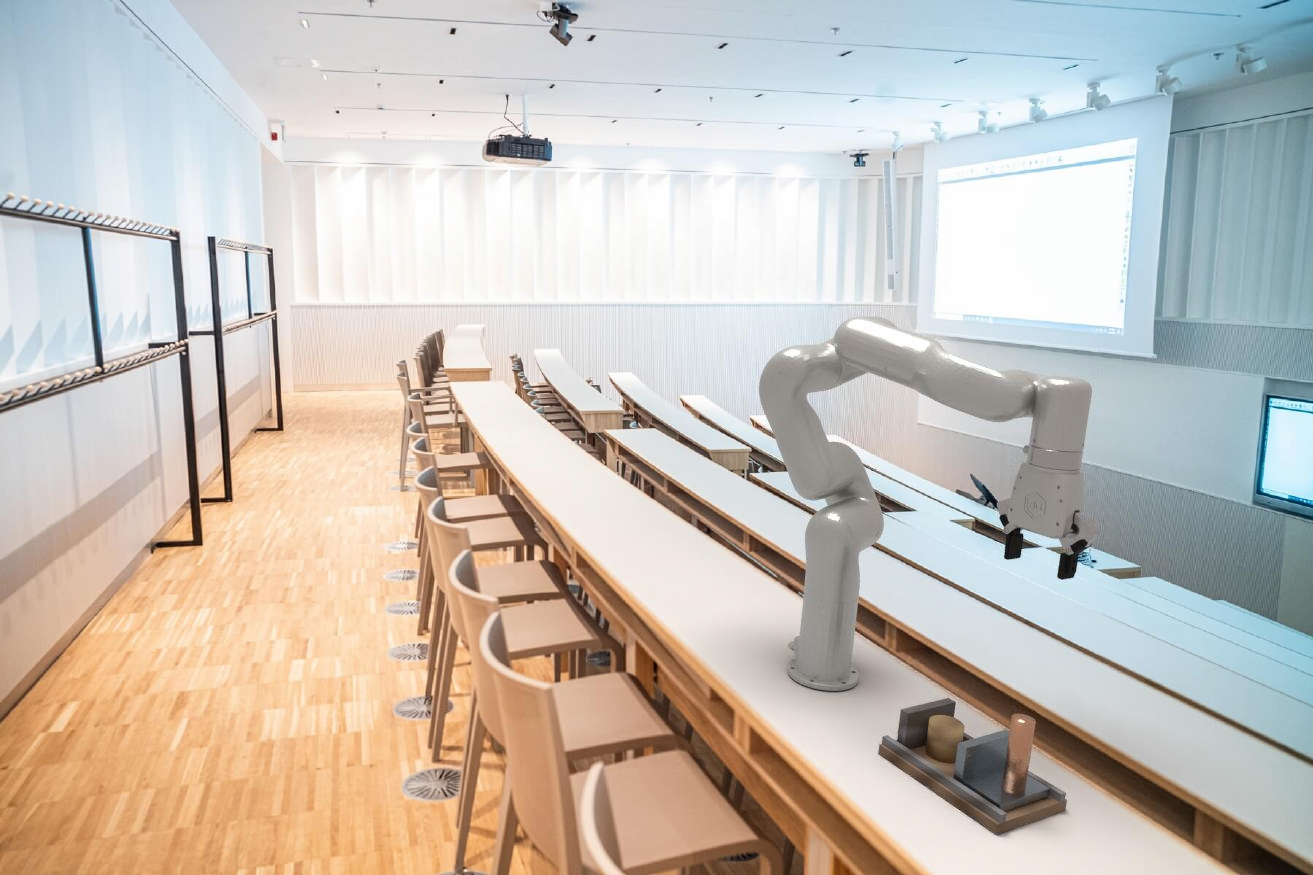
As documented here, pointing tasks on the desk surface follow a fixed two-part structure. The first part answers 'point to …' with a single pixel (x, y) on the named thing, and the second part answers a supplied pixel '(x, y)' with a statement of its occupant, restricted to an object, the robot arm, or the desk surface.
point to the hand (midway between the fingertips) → (1038, 568)
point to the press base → (940, 775)
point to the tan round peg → (944, 738)
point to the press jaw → (1001, 765)
